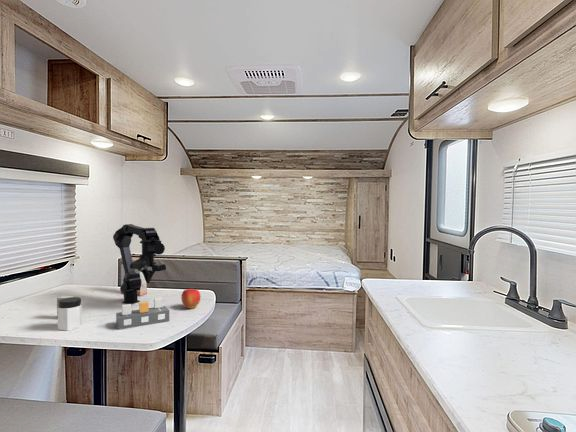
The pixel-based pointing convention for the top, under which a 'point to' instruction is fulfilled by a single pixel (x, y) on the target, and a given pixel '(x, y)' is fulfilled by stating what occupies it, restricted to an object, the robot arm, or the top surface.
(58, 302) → the skincare box
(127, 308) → the tab
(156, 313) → the grey cube slider board
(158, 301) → the tab
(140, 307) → the tab
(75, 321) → the jar
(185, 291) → the apple
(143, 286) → the cracker box
